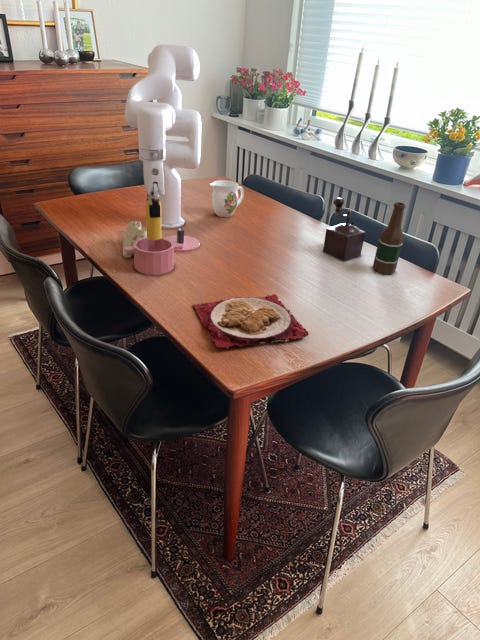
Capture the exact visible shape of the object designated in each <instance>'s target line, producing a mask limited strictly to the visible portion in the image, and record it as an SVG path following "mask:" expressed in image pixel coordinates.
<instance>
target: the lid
mask: <svg viewBox="0 0 480 640" xmlns="http://www.w3.org/2000/svg"><path fill="white" fill-rule="evenodd" d="M164 238H165V239H169V240H170V241H172V242H173V244H181V245H182V249H177V250H174V252H191V251H194V250H196V249H198V248H199V247H200V244H201V243H200V241H199V240H198V239H197V238H195V237H193V236H190V235H185V229H184V228H181V227H178V228H177V229H176V234H175V235H174V234H173V235H169V236H166V237H164Z"/></svg>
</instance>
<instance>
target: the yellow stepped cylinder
mask: <svg viewBox="0 0 480 640" xmlns="http://www.w3.org/2000/svg"><path fill="white" fill-rule="evenodd" d="M153 198H154V197H152V199H153ZM149 205H150V196H149V197H148V200H147V199H146V201H145V217H146V218H145V220H146V221H145V223H146V232H147V238H148V239H150V240H159V239H161V238H163V236H162V235H163V234H162V227H161V202H160V217H159V218H150V213H149Z"/></svg>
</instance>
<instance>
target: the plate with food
mask: <svg viewBox="0 0 480 640" xmlns="http://www.w3.org/2000/svg"><path fill="white" fill-rule="evenodd" d="M192 307H193V308H194V310H195V311H196V313H197V316H198V317H199V319H200V321H201V323H202V325H203V327H204V328H206V329H208V330H209V331H210V334H209V337H210V340H211V341H212V343H214V344H215V347H216V348H221V349H223V348H226V349H229V348H230V347H234V346H237V347H238V348H243V347H244V346H247V345H248V346H249V345H257V344H262V345H263V344H266V342H265V341H259V340H263V339H269V338H274V340H272V341H271V343H272V344H275V345H276V344H277V343H278V342H283V343H284V342H285V343H286V342H287V343H288V342H290V341H294V340H297V339H301V338H302V339H303V338H305V337H308V336H309V335H310V333H309V331H308V330H306V328H305V327H304V326H303V325H302V324H301V322H299V321H298V320H297V319H296V317H294V314H290V311H291V310H290V309H287V308H286V306H285V304H283V303H282V300H279V297H278V295H277V294H275V293H273V294H271V295H270V294H268V295H266V296H265V297H253V296H250V297H249V296H248V297H243V296H241V297H240V296H235V297H233V298H227V299H223V300H222V299H220V300H216V301H214V302H205V303H201V304H199V303H198V304H192Z"/></svg>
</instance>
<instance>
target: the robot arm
mask: <svg viewBox="0 0 480 640" xmlns="http://www.w3.org/2000/svg"><path fill="white" fill-rule="evenodd" d="M147 66H148V69H147V74H146V76H144V77H143V78H141V79H140V80H138V81H137V82H136V83H134V84H133V85H132V87H130V89H129V91H128V94H127V98H126V102H125V108H124V120H125V122H126V123H127V126H129V127H130V128H132V129H137V136H138V137H137V139H138V140H137V141H138V159H139V160H140V161H142V169H143V183H144V188H145V191H146V201H147V200H148V197H149V196H150V205H149V213H150V218H159V217H160V202H161V228H164V229H174V228H181V227H183V226H184V224H185V219H184V218H183V217H182V215H181V214H182V213H181V212H182V211H181V210H182V207H181V206H182V198H181V197H182V180H181V177H180V175H179V173H178V171H177V170H176V169H189V170H195V169H197V168H199V166H200V163H201V156H202V154H201V153H202V151H201V149H202V118H201V115H200V113H199V111H198V110H195V109H191V108H182V92H181V90H180V88H179V87H178V85H177V84H176V82H175V81H184V82H194V81H196V80H198V78H199V75H200V67H201V65H200V59H199V56H198V54H197V52H196V50H195V49H194V48H193V47H191V46H187V45H179V44H178V45H176V44H162V43H161V44H158V45H156V46H154V47H153V49H152V50H151V52H149V54H148V56H147ZM155 100H156V101H155ZM166 136H167V137H177V138H186V139H188V140H187V141H186V140H176V139H175V140H174V139H166ZM152 197H154V198H153V199H152Z"/></svg>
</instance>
